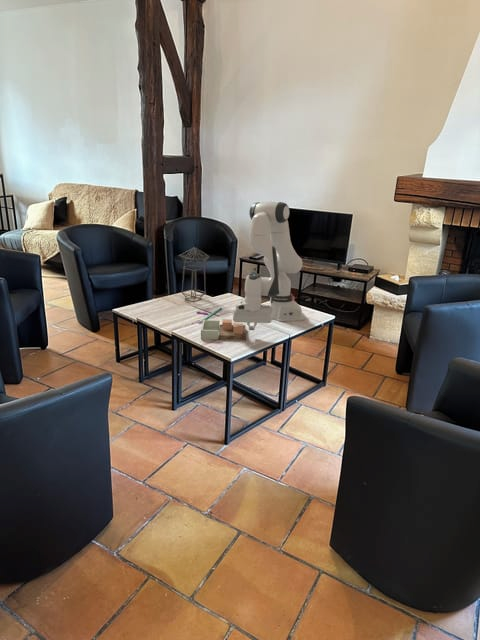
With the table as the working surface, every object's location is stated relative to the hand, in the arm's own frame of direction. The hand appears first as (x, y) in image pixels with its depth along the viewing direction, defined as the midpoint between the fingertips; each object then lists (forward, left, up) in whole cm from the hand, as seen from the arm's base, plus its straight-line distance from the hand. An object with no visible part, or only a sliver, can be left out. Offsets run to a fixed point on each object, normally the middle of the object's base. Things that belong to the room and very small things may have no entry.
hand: (251, 329), depth 232 cm
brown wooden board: (+10, -3, -4) cm, 11 cm away
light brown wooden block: (+13, -6, -2) cm, 15 cm away
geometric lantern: (+36, -64, -4) cm, 74 cm away
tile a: (+7, 0, -2) cm, 7 cm away
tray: (+22, -3, -4) cm, 22 cm away
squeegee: (+28, -34, -5) cm, 44 cm away
